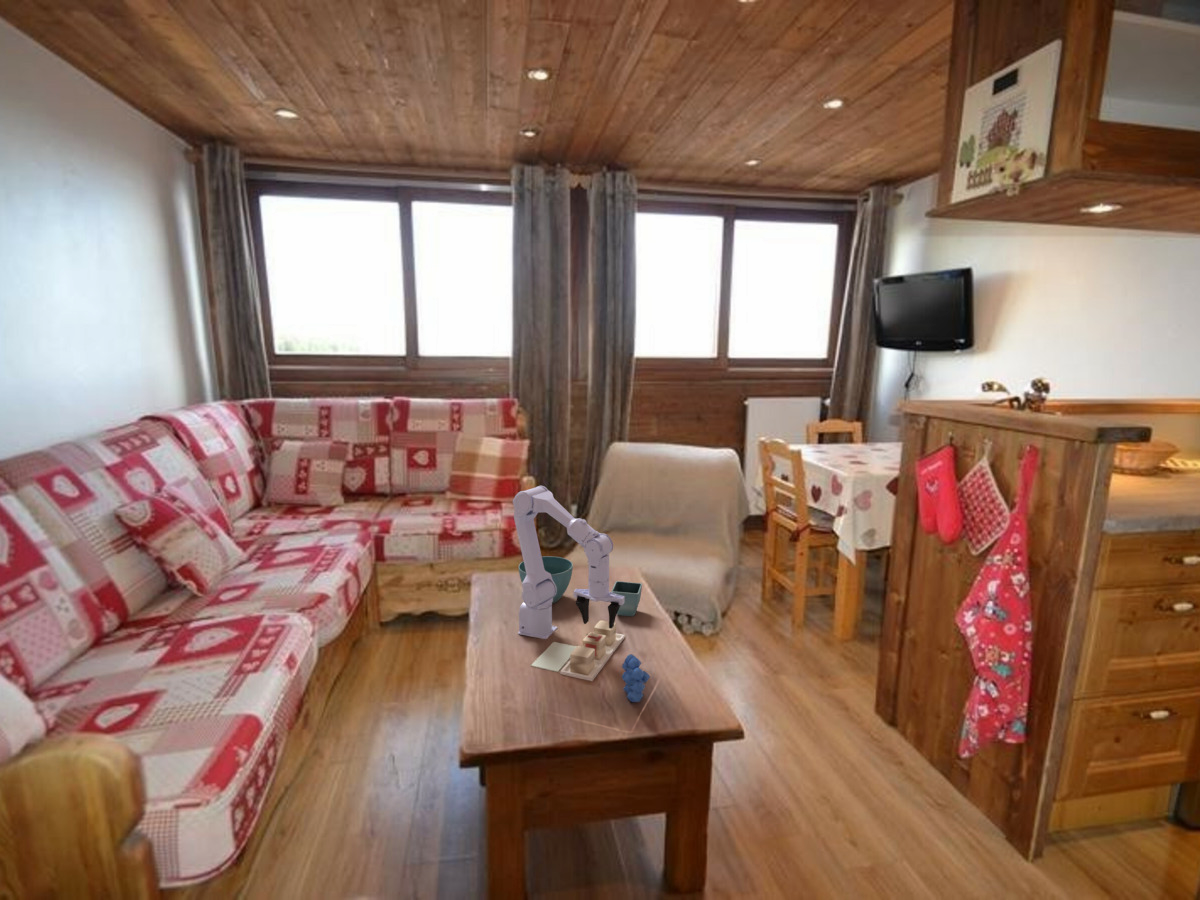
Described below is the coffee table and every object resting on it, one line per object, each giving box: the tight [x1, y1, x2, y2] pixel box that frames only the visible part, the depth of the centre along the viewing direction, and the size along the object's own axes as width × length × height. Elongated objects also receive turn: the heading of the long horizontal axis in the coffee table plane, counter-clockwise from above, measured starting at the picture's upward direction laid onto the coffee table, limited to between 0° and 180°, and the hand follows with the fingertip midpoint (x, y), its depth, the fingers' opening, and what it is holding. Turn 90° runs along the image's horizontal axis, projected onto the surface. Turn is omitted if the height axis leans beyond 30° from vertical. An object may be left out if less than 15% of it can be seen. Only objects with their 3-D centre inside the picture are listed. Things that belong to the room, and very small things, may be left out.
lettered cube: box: [582, 631, 606, 661], centre depth 165 cm, size 5×5×5 cm
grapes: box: [621, 653, 651, 703], centre depth 144 cm, size 12×7×12 cm, turn 14°
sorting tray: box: [559, 632, 626, 682], centre depth 166 cm, size 9×25×1 cm, turn 158°
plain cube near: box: [569, 645, 595, 676], centre depth 158 cm, size 5×5×5 cm
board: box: [530, 641, 578, 673], centre depth 165 cm, size 8×14×1 cm, turn 158°
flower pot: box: [610, 580, 643, 617], centre depth 192 cm, size 9×9×9 cm
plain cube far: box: [593, 619, 617, 647], centre depth 173 cm, size 5×5×5 cm
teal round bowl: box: [518, 555, 574, 604], centre depth 202 cm, size 18×18×12 cm
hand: (598, 624), depth 167 cm, fingers open, 7 cm apart
